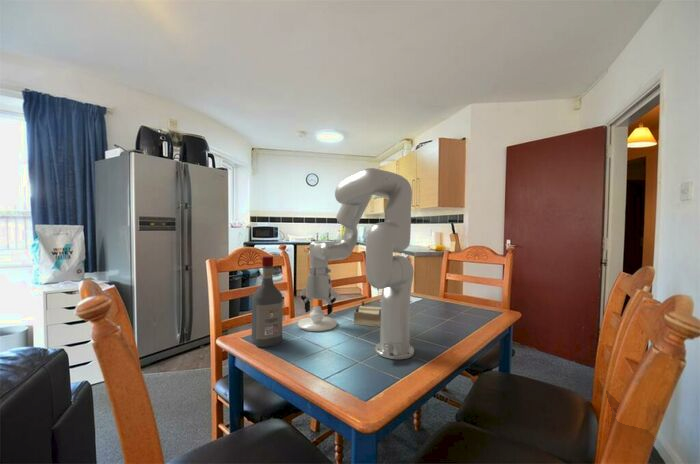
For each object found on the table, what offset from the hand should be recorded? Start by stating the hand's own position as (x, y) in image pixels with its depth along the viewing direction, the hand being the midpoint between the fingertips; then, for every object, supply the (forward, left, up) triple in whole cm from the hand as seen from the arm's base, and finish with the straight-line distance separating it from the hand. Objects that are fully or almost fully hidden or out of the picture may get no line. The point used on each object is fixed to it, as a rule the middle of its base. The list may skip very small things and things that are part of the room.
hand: (318, 312), depth 123 cm
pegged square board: (+12, -20, -5) cm, 24 cm away
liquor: (-22, +10, -5) cm, 25 cm away
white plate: (0, 0, -5) cm, 5 cm away
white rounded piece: (0, +1, -4) cm, 4 cm away
